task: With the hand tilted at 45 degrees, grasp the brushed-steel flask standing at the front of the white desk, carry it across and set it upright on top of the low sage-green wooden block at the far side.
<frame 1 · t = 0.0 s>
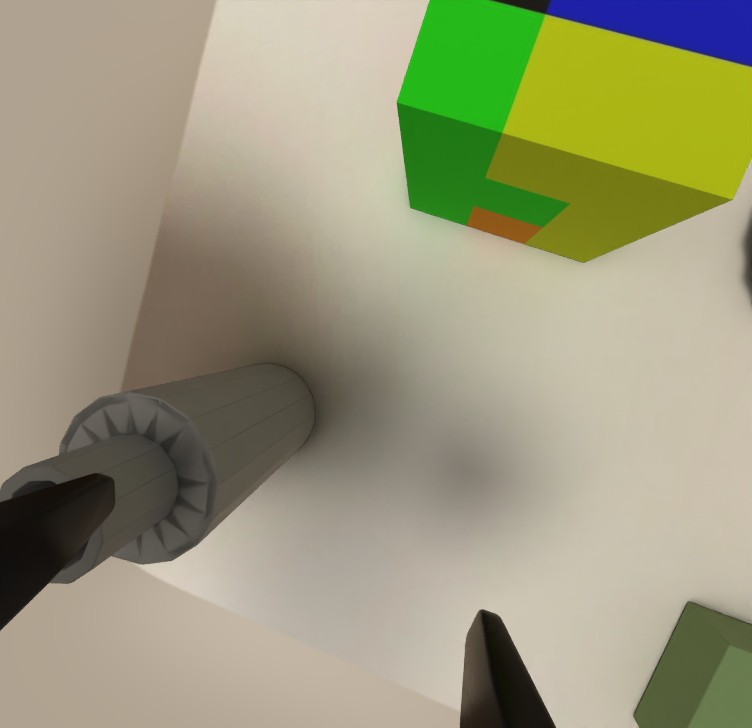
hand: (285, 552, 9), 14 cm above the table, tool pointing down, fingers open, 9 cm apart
puzzle toy: (528, 145, 20), on the table
flask: (269, 410, 24), on the table
green block: (730, 687, 21), on the table
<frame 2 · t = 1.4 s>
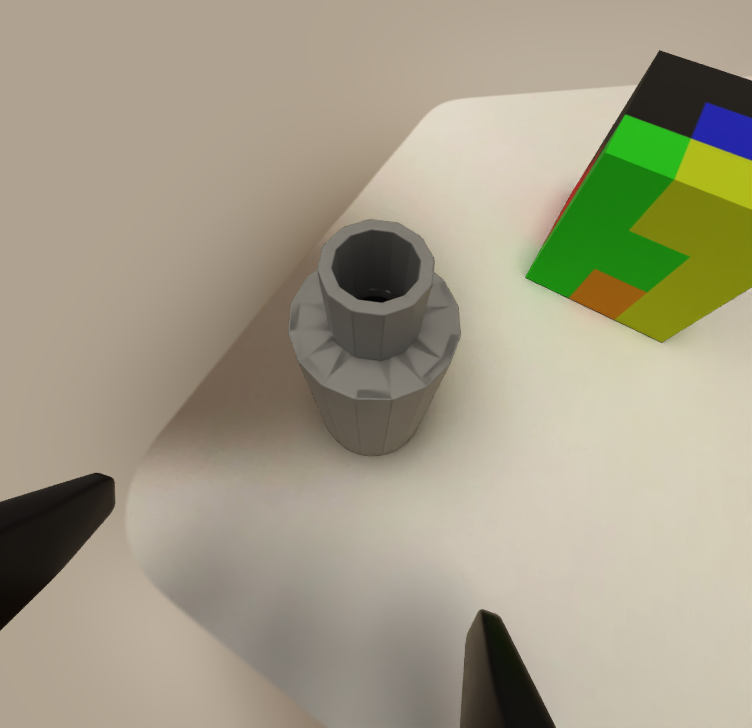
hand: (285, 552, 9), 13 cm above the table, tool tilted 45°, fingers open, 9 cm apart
puzzle toy: (611, 261, 28), on the table
flask: (372, 407, 23), on the table
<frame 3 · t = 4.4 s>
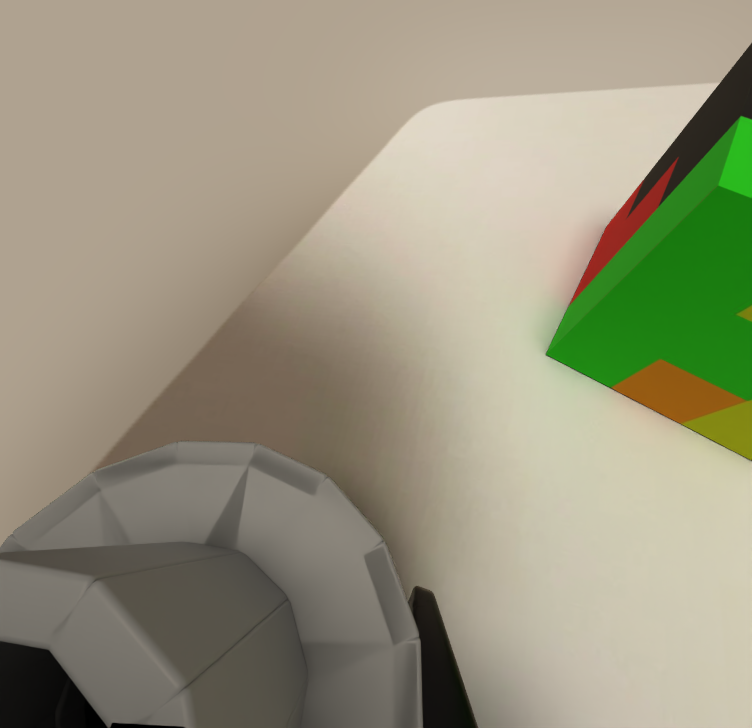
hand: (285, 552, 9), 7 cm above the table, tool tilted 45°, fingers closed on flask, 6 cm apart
puzzle toy: (667, 329, 20), on the table
flask: (306, 580, 14), on the table, touching gripper
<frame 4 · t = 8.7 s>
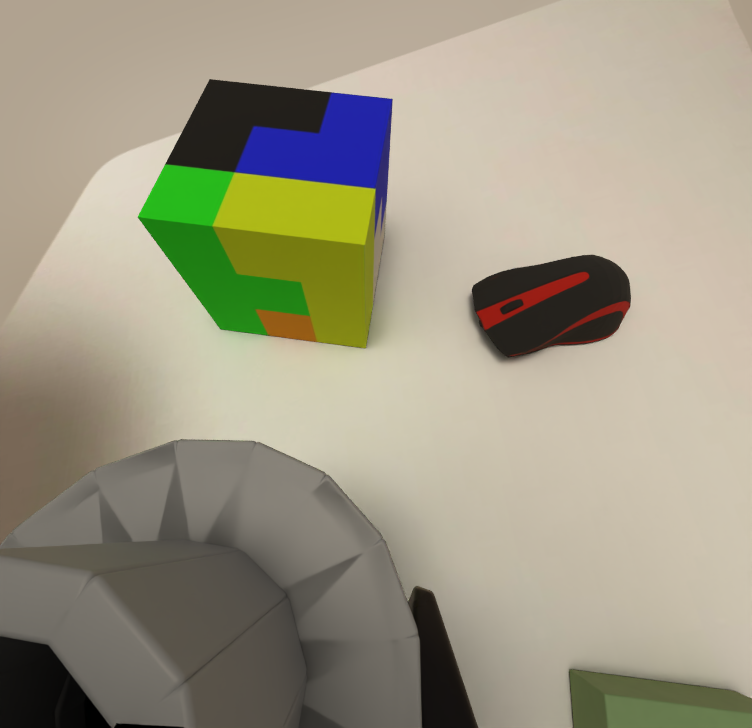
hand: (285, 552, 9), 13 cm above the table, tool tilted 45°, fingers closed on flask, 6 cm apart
computer mouse: (544, 313, 27), on the table
puzzle toy: (308, 280, 27), on the table
flask: (306, 579, 14), point 6 cm above the table, touching gripper
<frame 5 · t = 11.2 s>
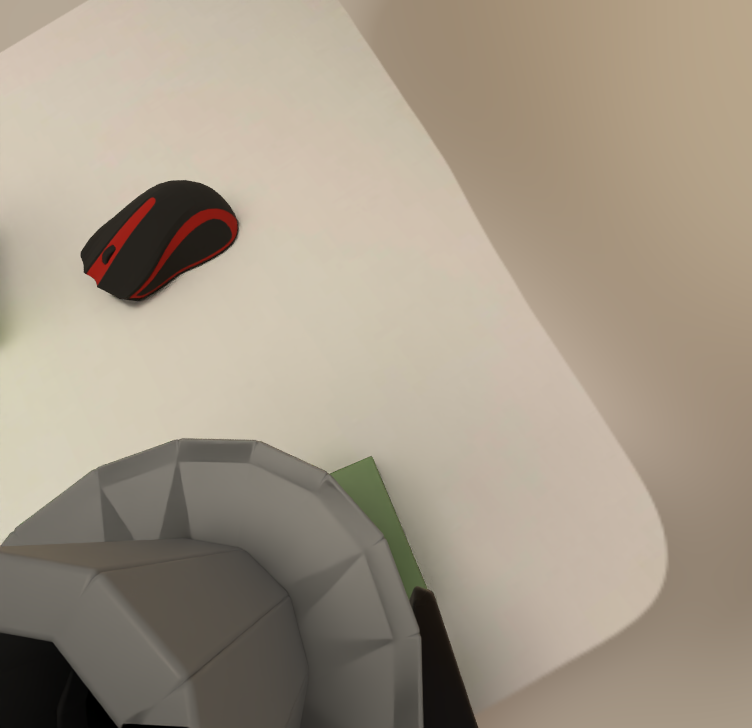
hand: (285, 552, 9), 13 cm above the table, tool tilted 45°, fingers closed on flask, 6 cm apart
computer mouse: (171, 249, 28), on the table
flask: (306, 579, 14), point 6 cm above the table, touching gripper
green block: (331, 565, 20), on the table
when the fingers open (10 cm above the table, at t = 13.0 s): flask stays where it is, resting on green block.
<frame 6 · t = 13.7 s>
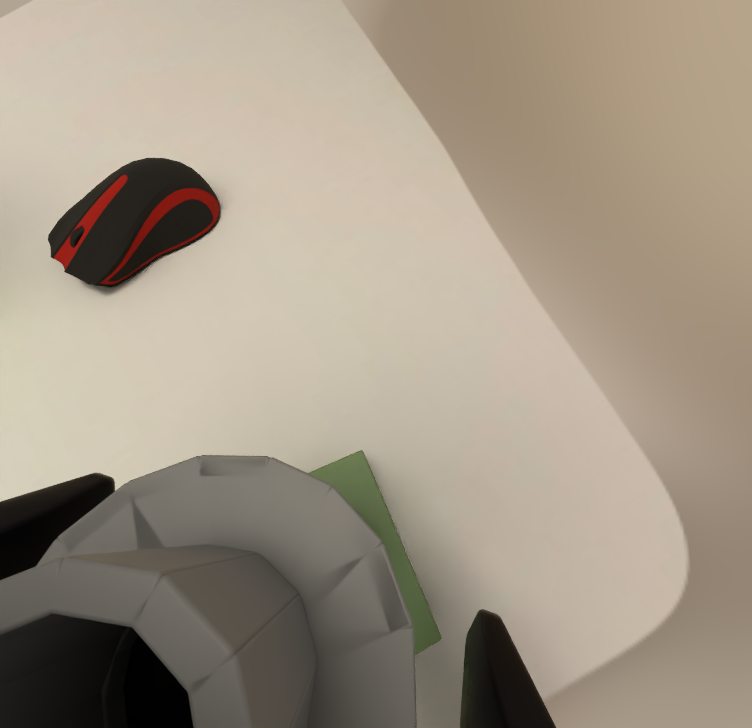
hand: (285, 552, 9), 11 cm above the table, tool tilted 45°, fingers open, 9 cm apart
computer mouse: (148, 234, 26), on the table
flask: (309, 579, 15), point 3 cm above the table, touching green block
green block: (318, 572, 18), on the table, touching flask
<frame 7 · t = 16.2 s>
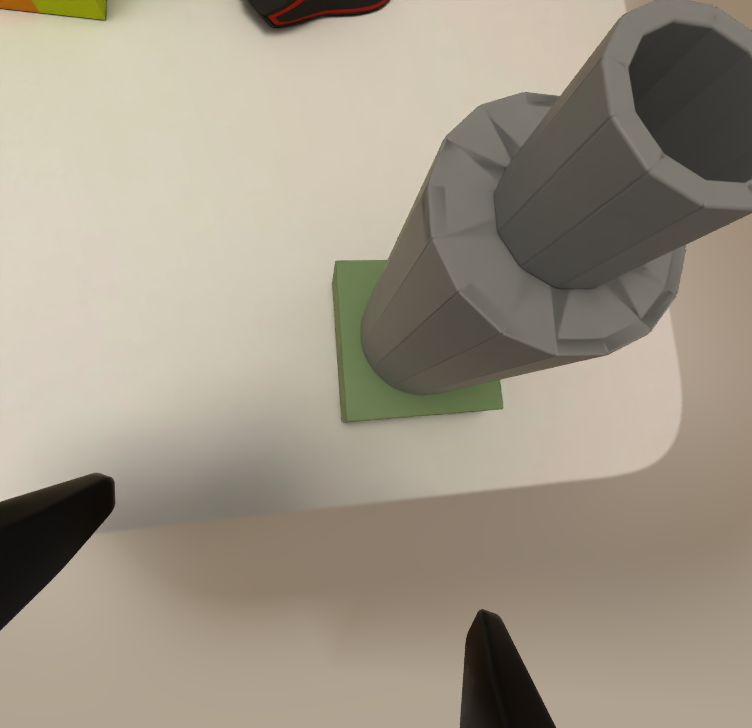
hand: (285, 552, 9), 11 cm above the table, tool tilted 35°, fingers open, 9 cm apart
flask: (419, 334, 19), point 3 cm above the table, touching green block
green block: (405, 346, 22), on the table, touching flask
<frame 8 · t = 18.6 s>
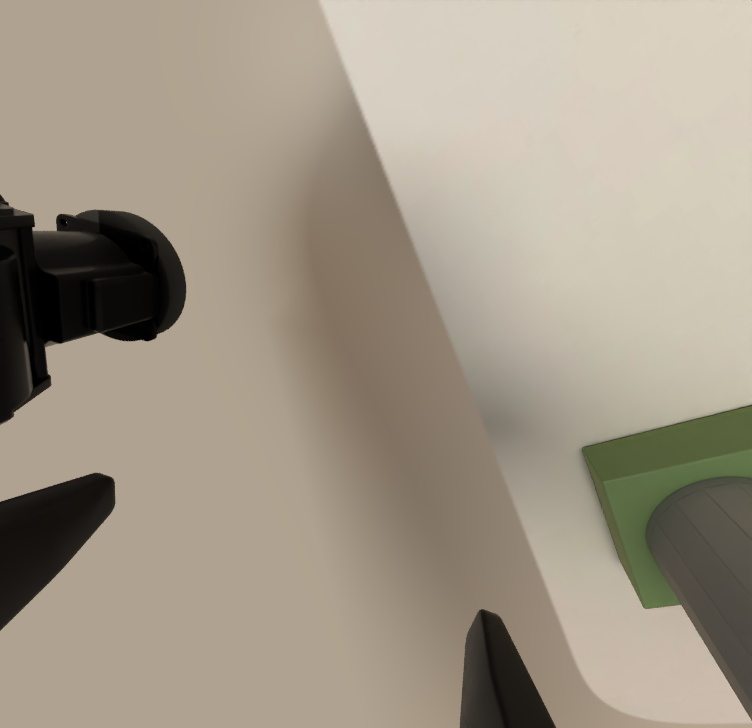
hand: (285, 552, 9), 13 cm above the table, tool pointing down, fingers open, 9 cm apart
flask: (721, 532, 17), point 3 cm above the table, touching green block
green block: (683, 490, 20), on the table, touching flask
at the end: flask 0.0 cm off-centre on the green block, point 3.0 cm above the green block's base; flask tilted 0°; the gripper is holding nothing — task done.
